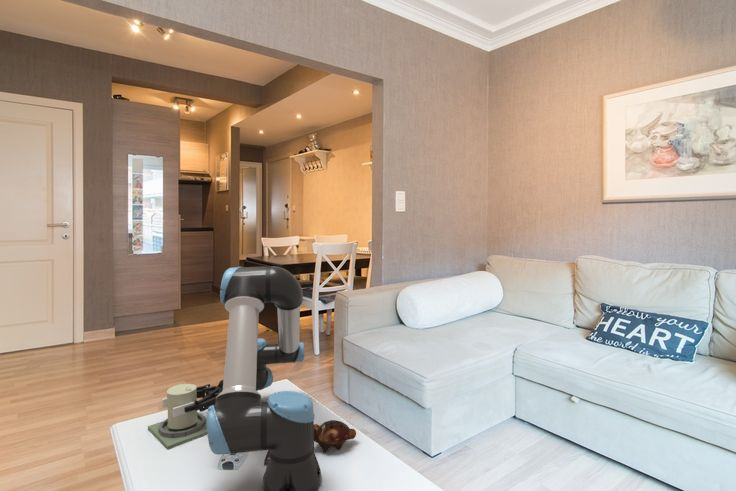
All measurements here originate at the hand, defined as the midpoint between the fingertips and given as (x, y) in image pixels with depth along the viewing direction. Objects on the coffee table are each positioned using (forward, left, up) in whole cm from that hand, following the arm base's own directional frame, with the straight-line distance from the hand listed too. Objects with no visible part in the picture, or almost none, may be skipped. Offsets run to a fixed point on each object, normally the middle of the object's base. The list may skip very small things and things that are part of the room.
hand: (167, 408), depth 131 cm
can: (0, -5, -7) cm, 8 cm away
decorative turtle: (-44, -33, -9) cm, 56 cm away
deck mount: (0, -5, -9) cm, 10 cm away
